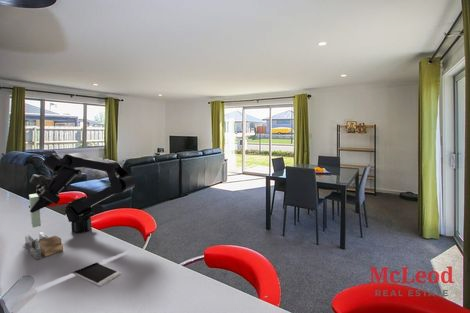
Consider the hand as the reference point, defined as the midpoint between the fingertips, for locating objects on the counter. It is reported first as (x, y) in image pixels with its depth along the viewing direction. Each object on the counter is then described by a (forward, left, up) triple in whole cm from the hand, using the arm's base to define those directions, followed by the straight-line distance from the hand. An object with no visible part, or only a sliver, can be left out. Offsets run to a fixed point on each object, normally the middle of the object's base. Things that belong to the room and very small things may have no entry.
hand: (30, 209), depth 96 cm
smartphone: (-36, +23, -13) cm, 44 cm away
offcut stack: (-15, +11, -11) cm, 22 cm away
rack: (-9, +8, -12) cm, 18 cm away
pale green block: (-1, -1, -6) cm, 7 cm away
